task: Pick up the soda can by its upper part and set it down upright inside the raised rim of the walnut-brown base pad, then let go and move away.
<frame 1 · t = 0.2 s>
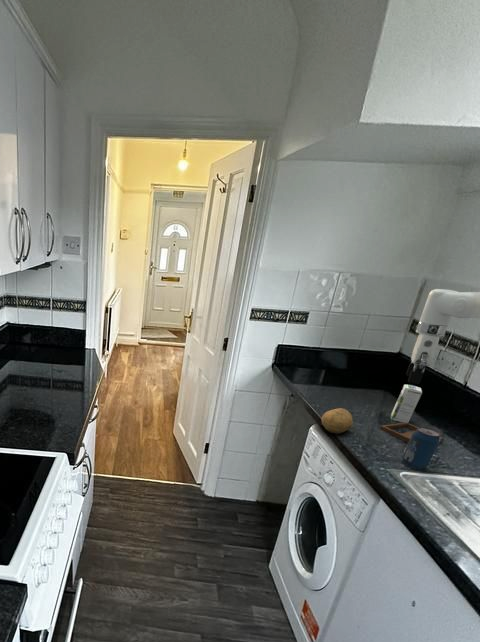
hand: (412, 379, 140), 22 cm above the counter, tool pointing down, fingers open, 9 cm apart
syrup box: (398, 421, 165), on the counter
potato: (332, 432, 152), on the counter
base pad: (409, 436, 152), on the counter
soda can: (412, 465, 132), on the counter
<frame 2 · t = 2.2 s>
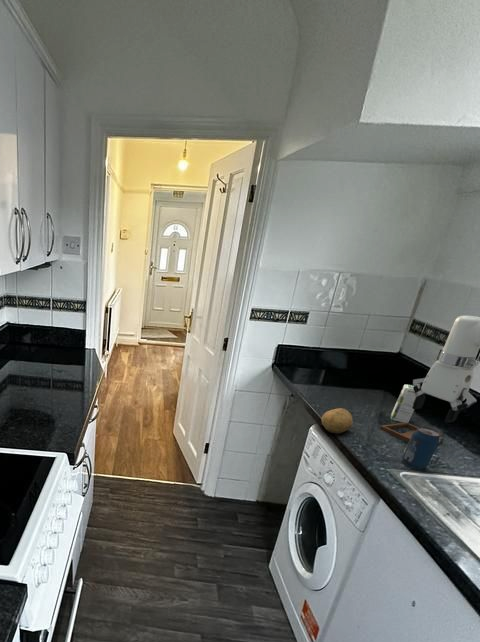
hand: (432, 414, 125), 17 cm above the counter, tool pointing down, fingers open, 9 cm apart
nothing on the counter moved.
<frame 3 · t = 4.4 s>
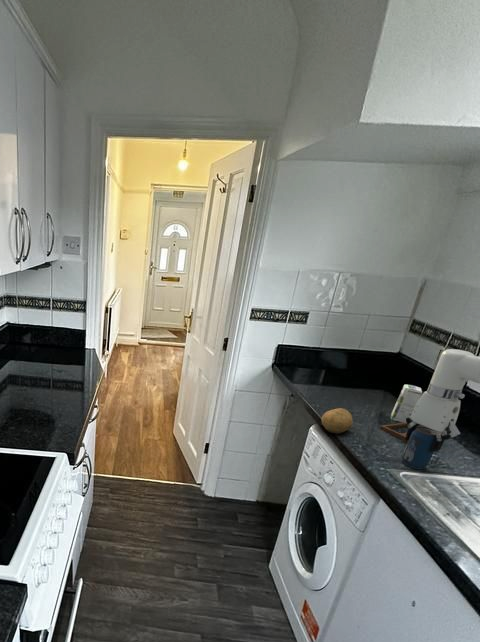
hand: (421, 445, 129), 7 cm above the counter, tool pointing down, fingers closed on soda can, 7 cm apart
soda can: (412, 464, 132), on the counter, touching gripper
everything else where it was.
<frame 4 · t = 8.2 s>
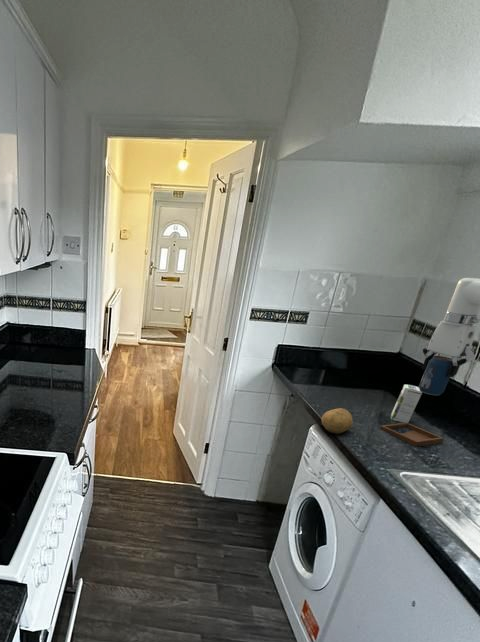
hand: (437, 372, 137), 26 cm above the counter, tool pointing down, fingers closed on soda can, 7 cm apart
soda can: (429, 392, 140), point 19 cm above the counter, touching gripper
everything else where it was.
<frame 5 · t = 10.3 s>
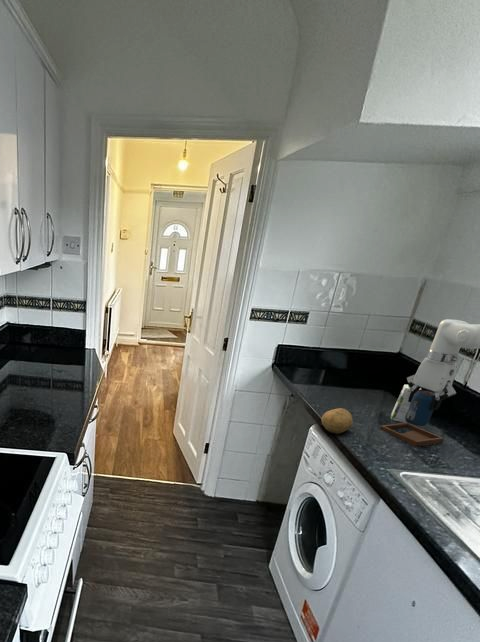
hand: (422, 405, 146), 12 cm above the counter, tool pointing down, fingers closed on soda can, 7 cm apart
soda can: (414, 423, 149), point 5 cm above the counter, touching gripper
everything else where it was.
when the fingers open (8 cm above the counter, at t = 12.2 s): soda can stays where it is, resting on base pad.
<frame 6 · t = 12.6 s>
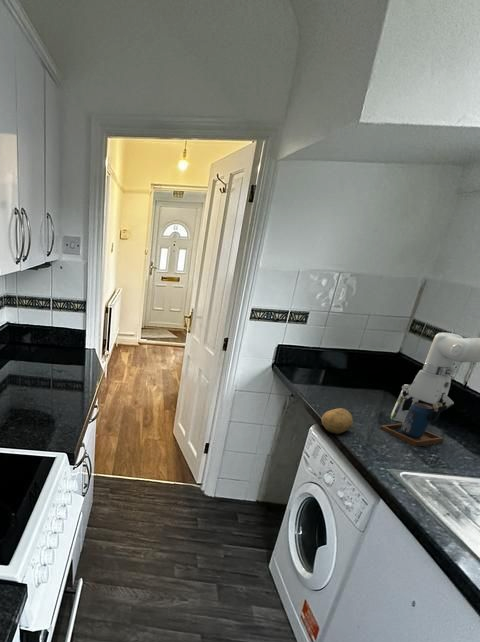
hand: (418, 415, 148), 9 cm above the counter, tool pointing down, fingers open, 9 cm apart
soda can: (410, 435, 151), point 1 cm above the counter, touching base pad
everything else where it was.
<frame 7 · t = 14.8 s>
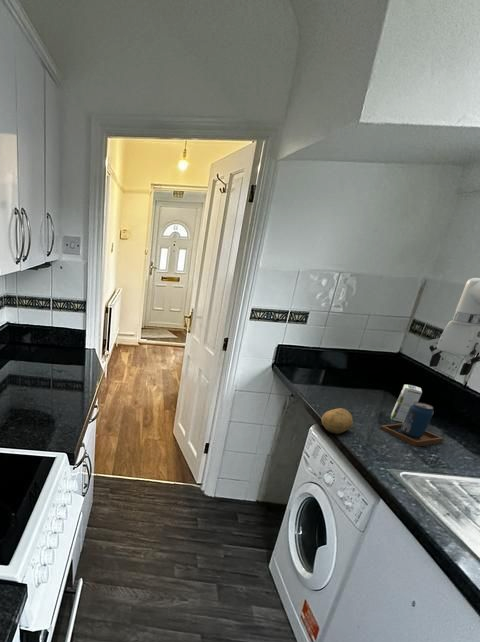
hand: (447, 370, 138), 26 cm above the counter, tool pointing down, fingers open, 9 cm apart
nothing on the counter moved.
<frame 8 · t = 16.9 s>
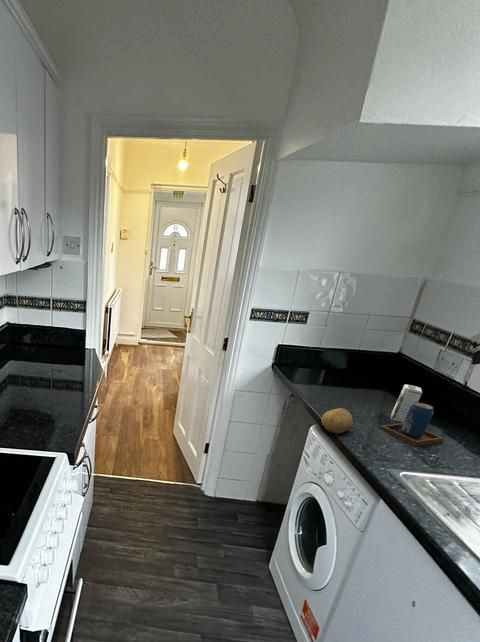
nothing on the counter moved.
at the end: soda can inside the target area in the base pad (0.1 cm from its centre), point 0.5 cm above the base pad's base; soda can tilted 2°; the gripper is holding nothing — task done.
